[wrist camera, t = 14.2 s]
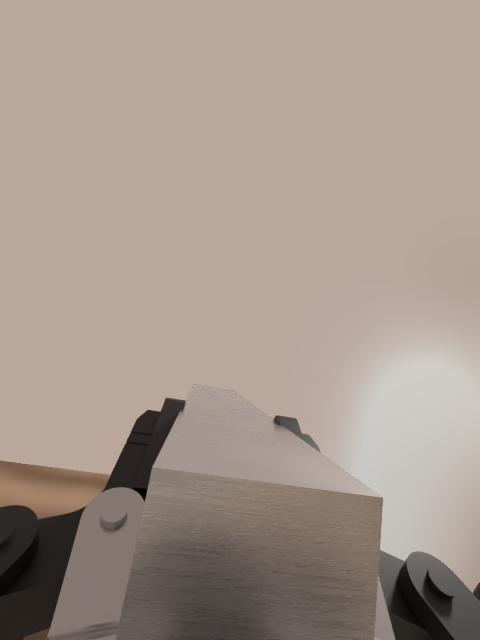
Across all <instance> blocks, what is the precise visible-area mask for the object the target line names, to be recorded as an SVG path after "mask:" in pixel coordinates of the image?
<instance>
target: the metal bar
mask: <svg viewBox="0 0 480 640" xmlns="http://www.w3.org/2000/svg"><path fill="white" fill-rule="evenodd" d="M185 401H186V404H185V408H184V411H180V412H179V414H178V416H177V418H176V420H175V422H174V425H173V427H172V429H171V431H170V433H169V435H168V437H167V439H166V441H165V443H164V445H163V447H162V449H161V451H160V453H159V455H158V457H157V459H156V461H155V463H154V465H153V467H152V471H151V476H150V480H149V485H148V490H147V495H146V499H145V504H144V509H143V513H142V518H141V523H140V527H139V532H138V537H137V542H136V546H135V551H134V556H133V560H132V565H131V570H130V574H129V579H128V584H127V588H126V593H125V598H124V603H123V607H122V612H121V617H120V621H119V626H118V631H117V635H116V640H374V635H375V619H376V602H377V586H378V570H379V554H380V537H381V522H382V505H383V497H381V496H380V495H379V494H377V493H375V492H374V491H373V490H372V489H370V488H369V487H367V486H366V485H364V484H363V483H362V482H360V481H359V480H358V479H356V478H355V477H353V476H352V475H350V474H349V473H348V472H346V471H345V470H344V469H342V468H341V467H339V466H338V465H336V464H335V463H334V462H332V461H331V460H330V459H328V458H327V457H325V456H324V455H323V454H321V453H320V452H319V451H317V450H316V449H314V448H313V447H312V446H310V445H309V444H307V443H306V442H305V441H303V440H302V439H300V438H299V437H298V436H296V435H295V434H293V433H292V432H291V431H289V430H288V429H286V428H285V427H284V426H280V425H279V424H277V423H276V422H275V421H273V420H274V419H272V418H271V417H270V416H268V415H267V414H266V413H264V412H262V411H261V410H260V409H259V408H257V407H255V406H254V405H253V404H251V403H250V402H248V401H247V400H246V399H245V398H243V397H242V396H240V395H239V394H238V393H236V392H235V391H231V390H226V389H220V388H214V387H208V386H202V385H196V384H193V386H192V388H191V390H190V392H189V394H188V396H187V398H186V400H185Z"/></svg>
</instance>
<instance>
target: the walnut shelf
mask: <svg viewBox="0 0 480 640" xmlns="http://www.w3.org/2000/svg"><path fill="white" fill-rule="evenodd" d="M110 476H111V475H107V474H98V473H91V472H83V471H75V470H68V469H60V468H52V467H44V466H36V465H28V464H21V463H13V462H5V461H0V507H4V506H9V505H22V506H26V507H28V508H30V509H32V510H33V511H34V512H35V514H36V515H37V519H42V518H47V517H52V516H57V515H62V514H67V513H71V512H74V511H76V510H79V509H81V508H83V507H85V506H86V505H88V504H89V502H90V501H91V500H92V499H93V498H95V497H96V496H97V495H99V494H100V493H101V492H102V491H103V490H104V488H105V486H106V484H107V482H108V480H109V478H110ZM49 630H50V628H49V629H46V630H43V631H40V632H37V633H34V634H31V635H28V636H25V637H24V638H23V640H46V638H47V636H48V633H49Z"/></svg>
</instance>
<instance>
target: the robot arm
mask: <svg viewBox="0 0 480 640" xmlns="http://www.w3.org/2000/svg"><path fill="white" fill-rule="evenodd" d="M185 404H186V401H184V400H178V399H171V398H166V399H165V402H164V405H163V407H162V410H161V412H158V411H152V410H147V411H146V412H145V413H144V414H142V415H141V416H140V417H139V418H138V419H137V420H136V422H135V424H134V427H133V429H132V431H131V434H130V435H129V437H128V439H127V442H126V444H125V446H124V448H123V450H122V452H121V454H120V456H119V459H118V461H117V463H116V465H115V467H114V469H113V471H112V474H111V476H110V478H109V480H108V482H107V484H106V486H105V488H104V490H103V491H102V492H101V493H100V494H99V495H97V496H96V497H95V498H93V499H92V500H91V501H90V502H89V504H88V505H86V506H85V507H83V508H81V509H79V510H76V511H74V512H71V513H67V514H62V515H57V516H52V517H47V518H42V519H37V515H36V514H35V512H34V511H33V510H32V509H30V508H28V507H26V506H22V505H9V506H4V507H0V640H23V638H24V637H25V636H28V635H31V634H34V633H37V632H40V631H43V630H46V629H49V628H50V630H49V633H48V636H47V638H46V640H116V635H117V631H118V626H119V621H120V617H121V612H122V607H123V603H124V598H125V593H126V588H127V584H128V579H129V574H130V570H131V565H132V560H133V556H134V551H135V546H136V542H137V537H138V532H139V527H140V523H141V518H142V513H143V509H144V504H145V499H146V495H147V490H148V485H149V480H150V476H151V471H152V467H153V465H154V463H155V461H156V459H157V457H158V455H159V453H160V451H161V449H162V447H163V445H164V443H165V441H166V439H167V437H168V435H169V433H170V431H171V429H172V427H173V425H174V422H175V420H176V418H177V416H178V414H179V412H180V411H184V408H185ZM273 421H275V422H276V423H277V424H279V425H280V426H284V427H285V428H286V429H288V430H289V431H291V432H292V433H293V434H295V435H296V436H298V437H299V438H300V439H302V440H303V441H305V442H306V443H307V444H309V445H310V446H312V447H313V448H314V449H316V450H317V451H319V452H320V450H319V447H318V446H317V445H316V443H315V442H314V441H313V440H312V438H311V437H310V436H309V435H306V434H302V433H301V430H300V427H299V424H298V421H297V419H296V418H290V417H284V416H275V418H274V420H273ZM374 640H480V583H479V584H478V585H477V587H476V588H475V590H474V592H473V593H472V592H471V591H470V590H469V589H468V588H467V587H466V586H465V585H464V583H463V582H462V581H461V580H460V579H459V578H458V577H457V576H456V575H455V574H454V573H453V572H452V571H451V570H450V568H448V567H447V566H446V565H445V564H444V563H442V562H441V561H440V560H438V559H437V558H435V557H433V556H432V555H430V554H427V553H424V552H413V553H411V554H410V555H409V556H408V558H407V560H406V561H403V560H400V559H398V558H396V557H394V556H392V555H390V554H387V553H385V552H383V551H381V550H380V554H379V570H378V586H377V602H376V619H375V635H374Z"/></svg>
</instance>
